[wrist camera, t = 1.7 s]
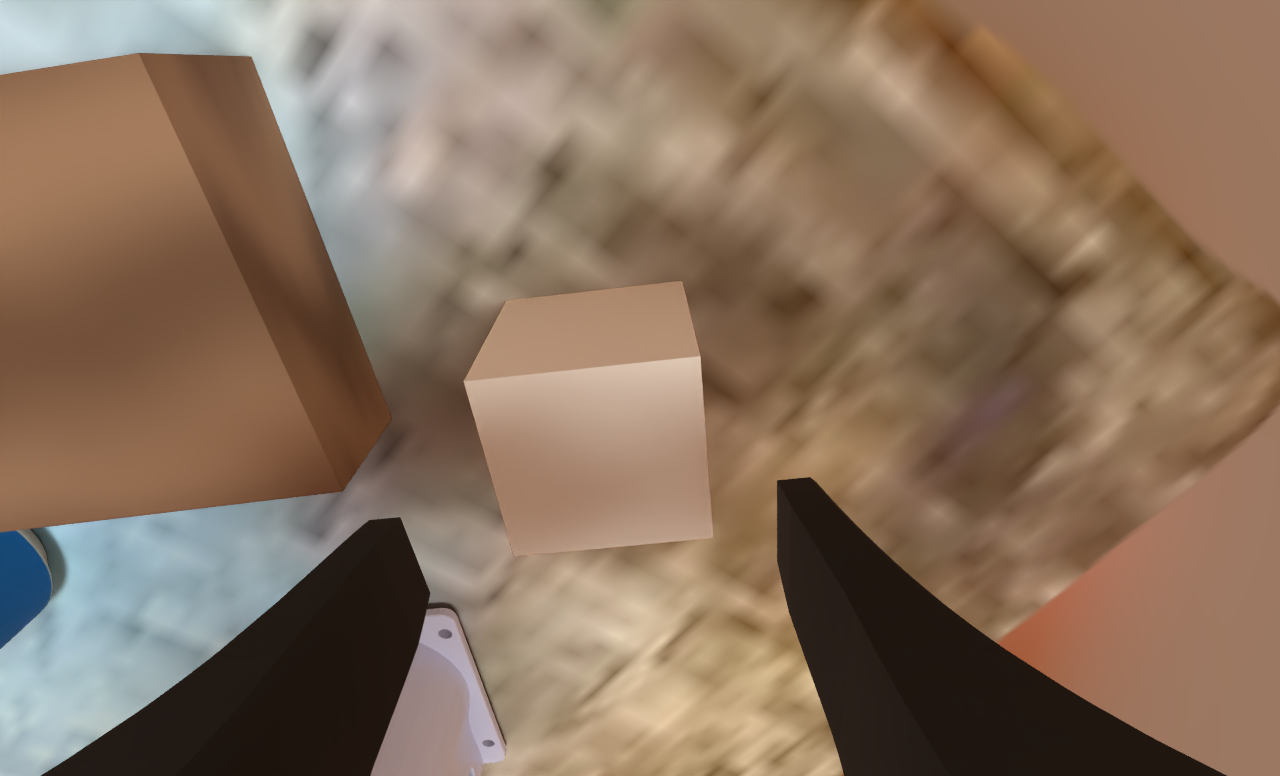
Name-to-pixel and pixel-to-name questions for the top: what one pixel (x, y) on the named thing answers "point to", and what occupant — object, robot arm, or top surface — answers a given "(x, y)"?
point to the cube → (594, 420)
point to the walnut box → (165, 300)
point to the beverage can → (22, 581)
